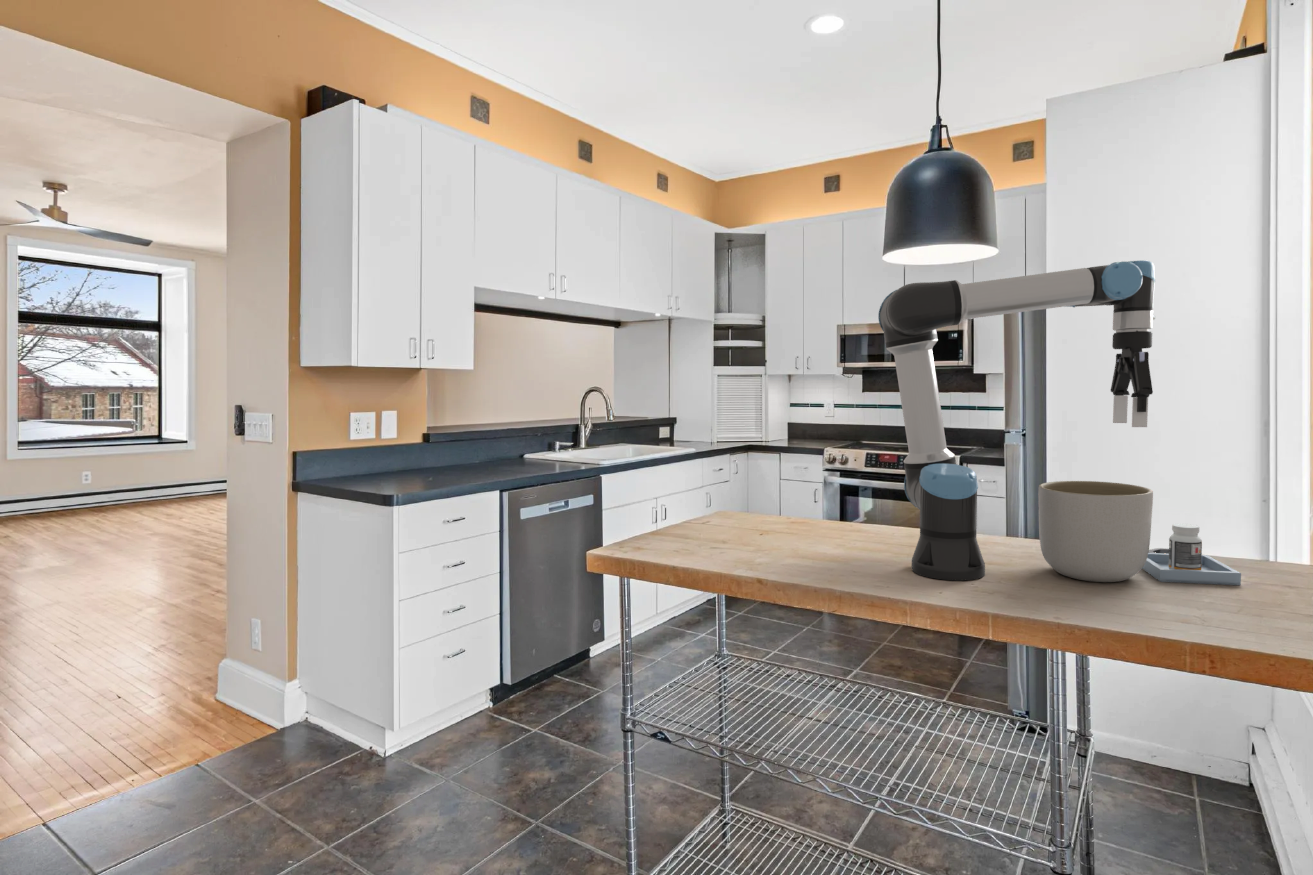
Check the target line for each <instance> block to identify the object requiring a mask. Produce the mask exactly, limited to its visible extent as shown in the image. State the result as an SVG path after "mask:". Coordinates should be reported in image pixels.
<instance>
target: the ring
mask: <svg viewBox="0 0 1313 875" xmlns="http://www.w3.org/2000/svg"><path fill="white" fill-rule="evenodd" d="M1155 552H1156V553H1166V554H1169V548H1163V547H1158V548H1151V549H1149V552H1148V553H1155Z"/></svg>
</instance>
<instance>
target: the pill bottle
mask: <svg viewBox="0 0 1313 875" xmlns="http://www.w3.org/2000/svg"><path fill="white" fill-rule="evenodd" d="M1171 530H1172V532H1173V533H1172V534H1170V536H1169V538H1168V540H1169V541H1168V544H1169V545H1168V549H1169V569H1182V570H1201V563H1202V555H1203V553H1202V551H1203V550H1202V549H1203V540H1202V538H1201V537H1200V536H1199V533H1200V526H1199V525H1197V524H1188V523H1173V524H1172V526H1171Z"/></svg>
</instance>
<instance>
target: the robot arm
mask: <svg viewBox="0 0 1313 875" xmlns="http://www.w3.org/2000/svg"><path fill="white" fill-rule="evenodd" d="M1155 273H1156V272H1155V264H1154V263H1153V262H1152V261H1150V260H1147V259H1146V260H1145V259H1144V260H1130V261H1117V262H1111V263H1110V264H1105V265H1097V266H1091V267H1081V268H1075V269H1067V270H1066V269H1065V270H1060V271H1051V272H1045V273H1035V274H1029V275H1028V274H1027V275H1021V276H1013V277H1012V276H1011V277H1007V278H999V279H991V280H983V281H975V282H969V283H968V282H967V283H960V282H959V281H958V280H956V279H955V280H947V281H934V282H933V281H931V282H911V283H907V284H905V285H903V286H901V287H899V288H898V289H895V290H893V291H892V292H890V293H889V294H888V295H887V296H885V298H884V299H883V301H882V303H881V304H880V306H879V310H878V323H879V326H880V328H881V330H882V331H883V337H884V342H885V348H886V350H887V351H888V352H889V353H891V354H892V355H893V356H894V363H895V370H896V377H897V381H898V389H899V397H900V402H901V407H902V408H901V410H902V415H903V421H904V422H903V423H904V429H905V436H906V441H907V442H906V444H907V446H908V454H907V456H906V457H905V458H904V460H903V465H904V472H905V476H904V481H903V487H904V488H903V489H904V493H905V496H906V498H907V500H908V501H909V502H910V503H911V504H912V505H913V506H914V507H915V508H917V509H918V510H919V538H918V541H917V543H916V546H915V549H914V553H913V555H912V558H911V571H912V572H913V573H914V574H916V575H920V576H923V577H926V578H931V579H936V580H943V581H971V580H977V579H980V578H983V577H984V576H985V575H986V565H985V561H984V556H983V554H982V552H981V549H980V545H979V542H978V539H977V538H978V537H977V526H978V524H977V517H978V513H977V512H978V488H979V483H978V478H977V474H976V472H975V470H973V469H972V468H971V467H968V466H965V465H960V464H957V461H956V455H955V453H953V452H952V451H951V450H949V449H948V448H947V446H948V445H947V441H946V440H947V439H946V435H945V427H944V421H943V419H944V418H943V413H942V407H941V406H942V405H941V399H940V393H939V387H938V379H937V373H936V365H935V361H934V360H935V359H934V354H933V353H934V352H933V348H934V346H935V345H936V344H937V342H938V341H939V339H938V333H937V329H942V328H944V327H951V326H958V325H961V324H962V322H964V320H968V319H978V318H986V317H992V316H994V317H995V316H1001V315H1007V314H1008V315H1009V314H1016V313H1024V312H1026V313H1027V312H1032V311H1039V310H1047V309H1048V310H1049V309H1057V308H1062V307H1064V308H1065V307H1067V308H1068V307H1070V308H1071V307H1072V308H1076V307H1099V306H1101V307H1102V306H1113V312H1112V331H1114V332H1113V334H1112V344H1111V346H1112V349H1114V350H1121V353H1116V355H1115V365H1114V369H1113V370H1114V371H1113V376H1112V380H1111V386H1110V392H1111V393H1112V396H1113V405H1112V406H1113V411H1112V412H1113V413H1112V424H1127V423H1128V403H1129V402H1128V401H1129V400H1128V398H1129V396H1130V397H1131V398H1132V407H1131V408H1132V411H1131V412H1132V413H1131V428H1148V416H1149V415H1148V411H1149V397H1150V395H1153V392H1154V391H1153V385H1152V384H1153V382H1152V378H1151V371H1150V364H1149V363H1150V362H1149V360H1150V358H1149V356H1150V355H1149V351H1143V349H1150V348H1152V347H1153V332H1152V331H1150V330H1151V329H1153V326H1154V325H1153V322H1154V321H1155V320H1156V315H1153V314H1154V299H1155V298H1154V296H1155V284H1156V277H1155V276H1156V275H1155ZM1153 320H1154V321H1153ZM1130 382H1131V386H1132V390H1133V392H1132V393H1131V395H1130V392H1129V390H1128V389H1129V386H1130Z"/></svg>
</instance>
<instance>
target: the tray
mask: <svg viewBox="0 0 1313 875" xmlns="http://www.w3.org/2000/svg"><path fill="white" fill-rule="evenodd" d="M1143 569H1144V570H1143ZM1141 570H1143V571H1145V572H1146V573H1147V572H1148V573H1147V574H1149V575H1150V574H1151V575H1150V576H1152V577H1153V578H1154V579H1156V580H1157V579H1158V580H1157V581H1159V582H1162V583H1181V584H1182V583H1184V584H1202V585H1204V584H1205V585H1225V586H1242V585H1241V584H1242V573H1241V572H1239V571H1238V570H1236V569H1234V568H1232V567H1231V566H1228V565H1227V564H1225V563H1223V562H1221V561H1220V560H1217V559H1215V558H1213V557H1211V556H1210V555H1208V554H1202V563H1201V570H1182V569H1169V554H1164V553H1148V557H1147V560H1146V563H1145V565H1144V567H1143V568H1142V569H1141Z"/></svg>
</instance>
